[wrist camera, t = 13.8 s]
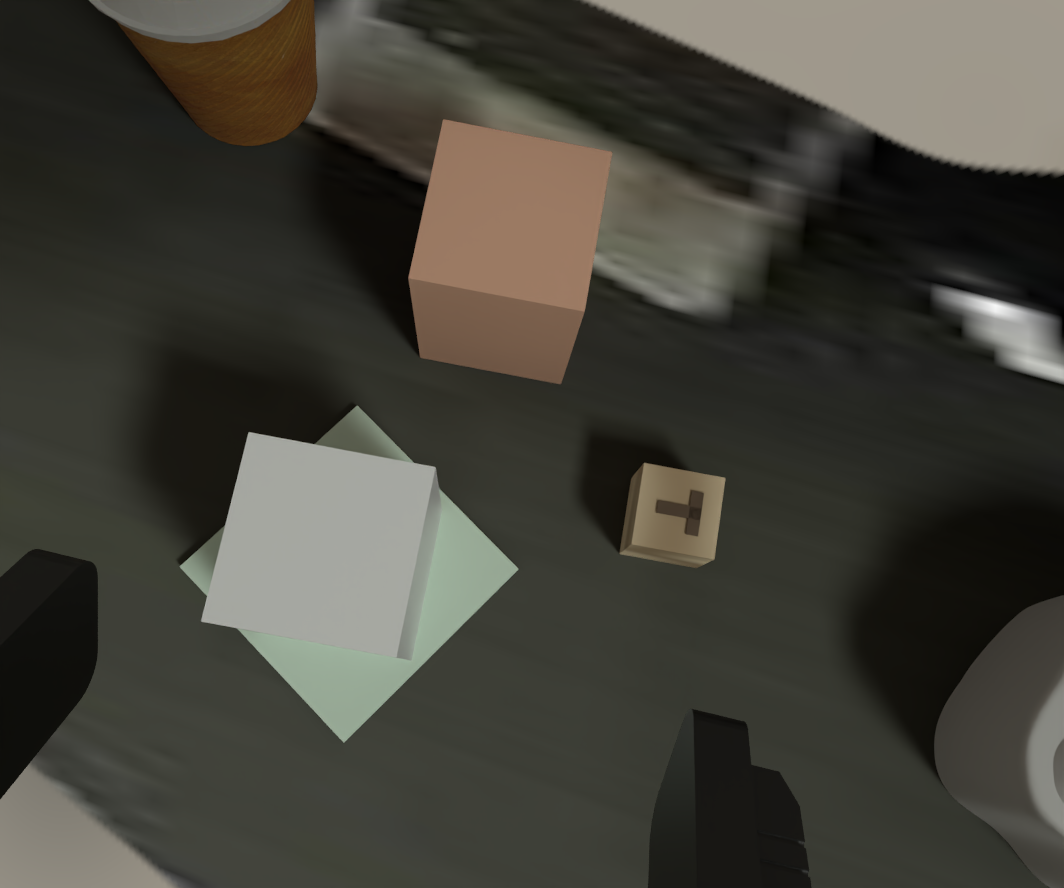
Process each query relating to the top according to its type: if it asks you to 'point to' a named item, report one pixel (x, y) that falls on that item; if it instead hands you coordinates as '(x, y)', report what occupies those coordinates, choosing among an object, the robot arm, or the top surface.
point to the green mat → (450, 600)
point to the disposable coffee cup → (229, 60)
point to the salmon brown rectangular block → (506, 250)
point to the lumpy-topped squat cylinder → (1013, 738)
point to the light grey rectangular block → (326, 547)
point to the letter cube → (672, 516)
